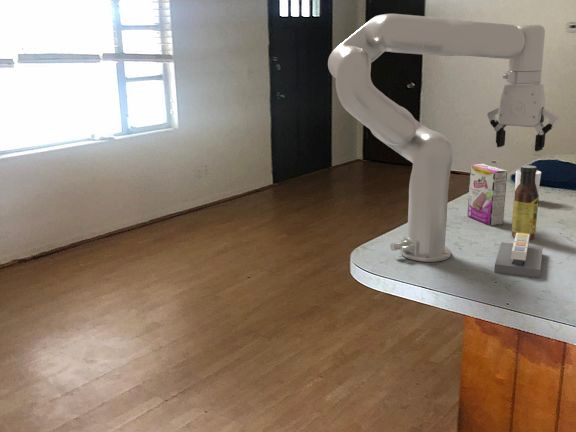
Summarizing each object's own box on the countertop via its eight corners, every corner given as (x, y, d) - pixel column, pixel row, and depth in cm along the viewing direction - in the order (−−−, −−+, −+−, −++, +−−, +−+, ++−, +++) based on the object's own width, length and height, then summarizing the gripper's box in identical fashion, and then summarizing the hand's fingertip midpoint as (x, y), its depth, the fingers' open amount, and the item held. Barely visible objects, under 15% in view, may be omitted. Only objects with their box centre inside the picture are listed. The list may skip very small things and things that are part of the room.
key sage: (526, 256, 150) (528, 241, 149) (512, 254, 151) (514, 240, 150) (527, 252, 153) (528, 237, 152) (513, 250, 154) (515, 236, 153)
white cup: (508, 199, 208) (510, 170, 205) (527, 197, 210) (530, 168, 208) (523, 204, 201) (526, 175, 198) (543, 202, 203) (546, 173, 200)
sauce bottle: (536, 241, 166) (544, 169, 161) (512, 240, 167) (519, 168, 162) (532, 233, 172) (539, 164, 167) (509, 232, 174) (515, 163, 168)
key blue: (524, 266, 144) (526, 251, 142) (510, 265, 145) (511, 249, 144) (525, 262, 146) (527, 247, 145) (511, 260, 148) (512, 245, 147)
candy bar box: (466, 216, 189) (469, 164, 185) (479, 214, 191) (483, 163, 187) (490, 226, 179) (494, 171, 175) (503, 224, 181) (508, 170, 177)
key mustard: (527, 251, 154) (528, 236, 152) (514, 249, 155) (515, 235, 154) (528, 247, 156) (529, 233, 155) (514, 245, 158) (516, 231, 157)
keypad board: (539, 277, 142) (540, 269, 141) (494, 272, 146) (494, 264, 145) (542, 254, 157) (542, 246, 156) (500, 249, 160) (501, 242, 160)
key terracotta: (525, 261, 147) (527, 246, 146) (511, 259, 148) (513, 244, 147) (526, 257, 150) (528, 242, 149) (512, 255, 151) (514, 240, 150)
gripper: (483, 78, 151) (479, 147, 156) (555, 80, 140) (548, 154, 145) (497, 76, 157) (492, 143, 161) (567, 78, 145) (560, 149, 150)
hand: (519, 148), depth 153 cm, fingers open, 9 cm apart
